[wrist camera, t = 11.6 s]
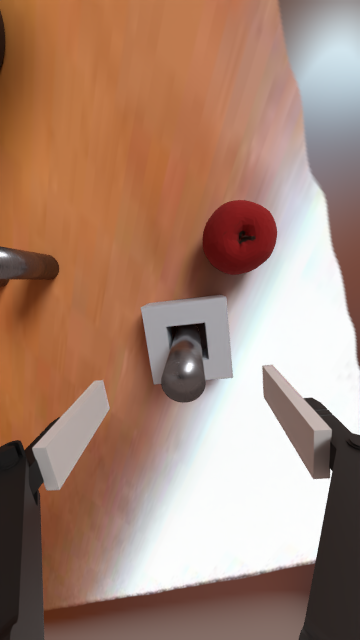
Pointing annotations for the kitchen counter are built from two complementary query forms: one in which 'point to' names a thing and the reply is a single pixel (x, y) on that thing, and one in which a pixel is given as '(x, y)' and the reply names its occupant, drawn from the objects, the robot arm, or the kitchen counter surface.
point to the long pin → (184, 366)
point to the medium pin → (26, 265)
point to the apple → (239, 237)
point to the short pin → (3, 282)
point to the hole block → (183, 313)
